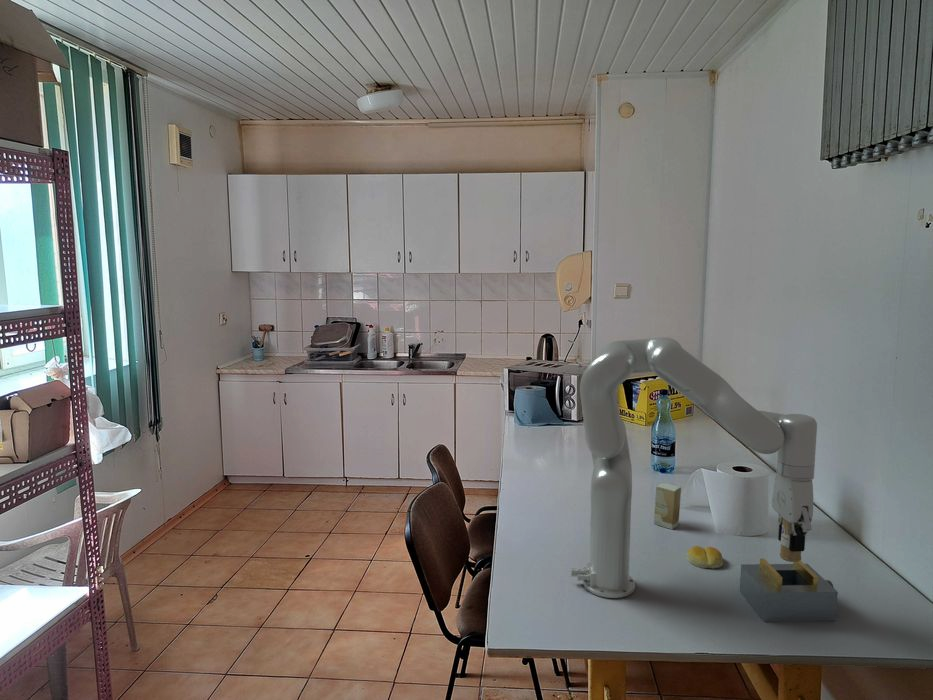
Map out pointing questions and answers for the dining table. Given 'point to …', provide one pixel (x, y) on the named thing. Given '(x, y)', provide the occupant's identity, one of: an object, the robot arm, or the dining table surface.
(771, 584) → the grey holder box
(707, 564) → the bread roll
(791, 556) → the sprinkles bottle
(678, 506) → the skincare box
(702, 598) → the dining table surface
